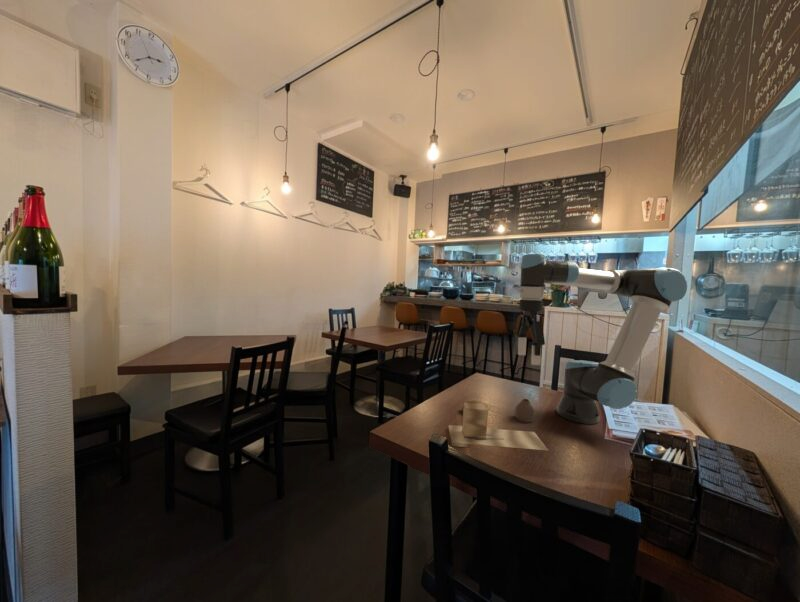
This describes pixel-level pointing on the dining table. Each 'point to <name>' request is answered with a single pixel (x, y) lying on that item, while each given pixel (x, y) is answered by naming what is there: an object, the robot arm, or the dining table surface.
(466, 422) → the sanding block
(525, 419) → the vase
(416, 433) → the dining table surface
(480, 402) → the bread roll
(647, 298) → the robot arm
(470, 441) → the board
